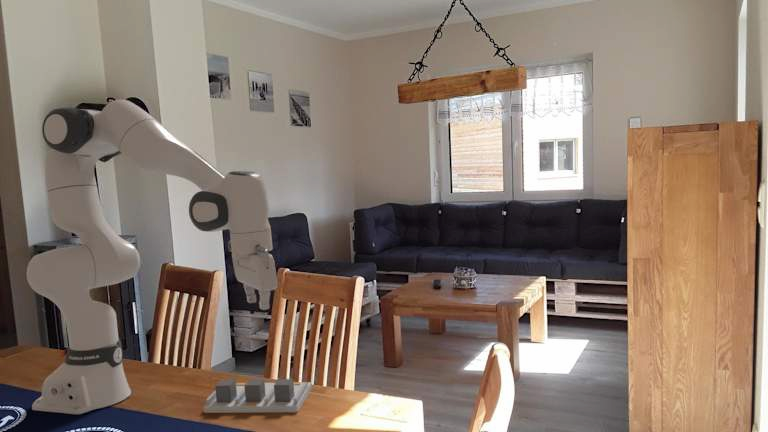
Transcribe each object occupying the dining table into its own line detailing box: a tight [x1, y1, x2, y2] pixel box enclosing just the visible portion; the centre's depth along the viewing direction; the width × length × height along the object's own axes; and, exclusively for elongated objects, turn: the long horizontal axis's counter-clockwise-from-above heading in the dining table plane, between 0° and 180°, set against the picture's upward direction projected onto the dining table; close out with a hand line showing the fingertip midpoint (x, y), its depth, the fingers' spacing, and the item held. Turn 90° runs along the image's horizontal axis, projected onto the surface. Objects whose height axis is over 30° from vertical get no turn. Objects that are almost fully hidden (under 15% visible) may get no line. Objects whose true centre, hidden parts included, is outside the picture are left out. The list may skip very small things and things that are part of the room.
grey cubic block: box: [244, 378, 266, 402], centre depth 141 cm, size 4×4×4 cm
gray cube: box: [214, 379, 237, 402], centre depth 142 cm, size 4×4×4 cm
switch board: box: [203, 381, 313, 414], centre depth 144 cm, size 22×14×3 cm, turn 84°
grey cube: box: [274, 378, 294, 402], centre depth 140 cm, size 4×4×4 cm
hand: (258, 305), depth 134 cm, fingers open, 8 cm apart
